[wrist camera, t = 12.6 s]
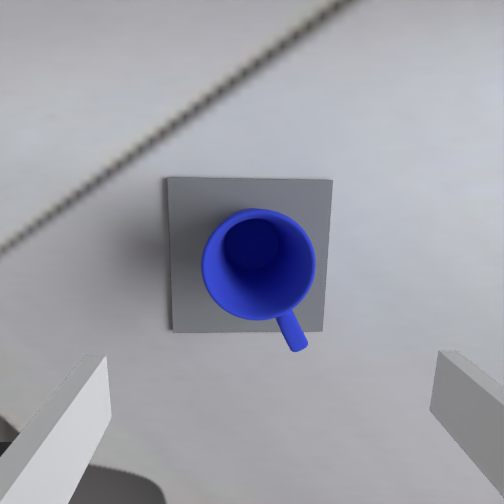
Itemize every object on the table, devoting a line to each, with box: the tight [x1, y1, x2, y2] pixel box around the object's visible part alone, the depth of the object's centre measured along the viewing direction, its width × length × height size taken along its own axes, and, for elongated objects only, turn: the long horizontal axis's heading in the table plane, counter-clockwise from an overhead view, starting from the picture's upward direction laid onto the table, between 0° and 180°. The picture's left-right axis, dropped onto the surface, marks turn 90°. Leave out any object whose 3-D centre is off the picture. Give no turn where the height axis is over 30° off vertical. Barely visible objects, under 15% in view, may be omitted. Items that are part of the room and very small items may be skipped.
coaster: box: [167, 177, 333, 333], centre depth 34 cm, size 16×16×1 cm
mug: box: [201, 208, 316, 352], centre depth 29 cm, size 8×12×10 cm
